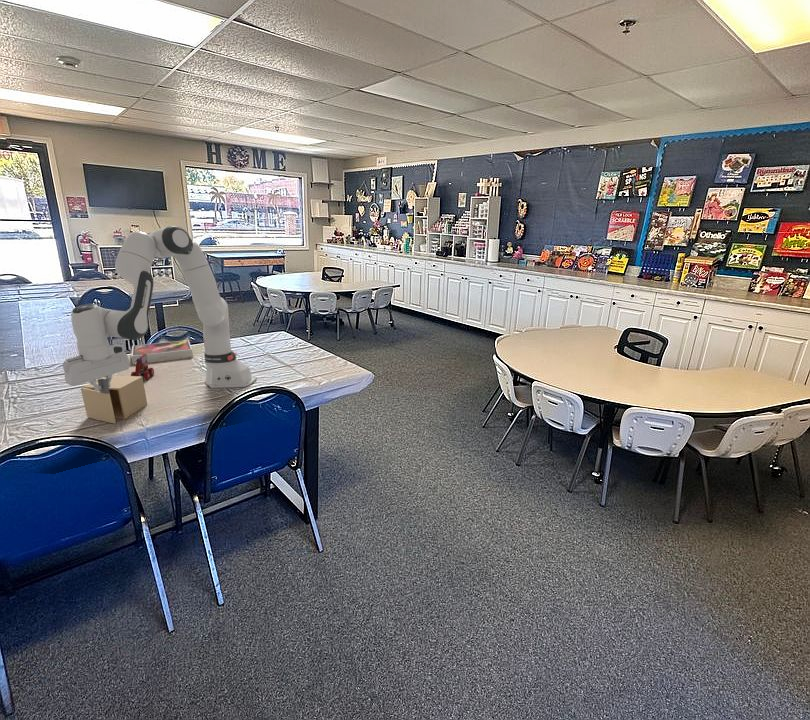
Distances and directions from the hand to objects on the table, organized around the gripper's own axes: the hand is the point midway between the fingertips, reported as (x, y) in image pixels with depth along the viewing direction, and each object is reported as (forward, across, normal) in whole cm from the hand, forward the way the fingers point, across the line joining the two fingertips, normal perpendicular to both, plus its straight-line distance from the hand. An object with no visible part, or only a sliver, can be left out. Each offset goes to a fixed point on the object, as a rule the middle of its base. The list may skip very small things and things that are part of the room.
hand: (102, 388), depth 150 cm
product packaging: (+15, +66, +56) cm, 88 cm away
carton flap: (+13, 0, +5) cm, 14 cm away
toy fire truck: (+14, +37, +33) cm, 52 cm away
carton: (+14, +8, +8) cm, 18 cm away
